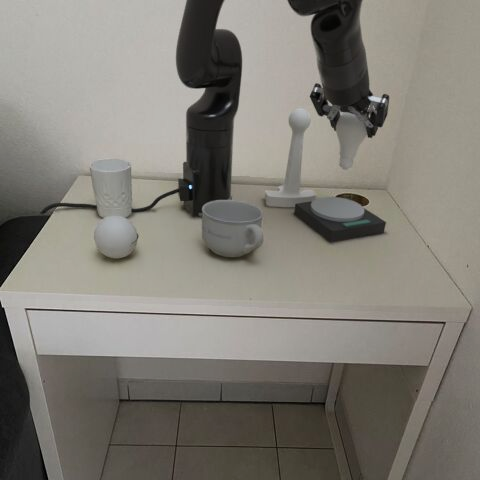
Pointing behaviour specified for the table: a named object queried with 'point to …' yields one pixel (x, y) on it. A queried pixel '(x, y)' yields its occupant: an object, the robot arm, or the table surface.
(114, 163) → the white cup
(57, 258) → the table surface
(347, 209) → the scale
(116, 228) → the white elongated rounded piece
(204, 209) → the teacup
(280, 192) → the joystick
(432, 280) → the table surface
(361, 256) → the table surface
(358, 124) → the lightbulb
